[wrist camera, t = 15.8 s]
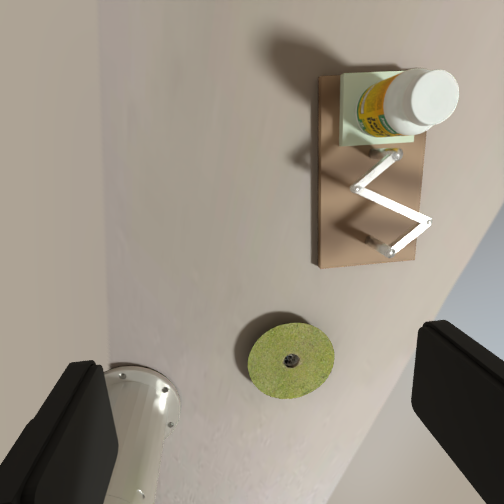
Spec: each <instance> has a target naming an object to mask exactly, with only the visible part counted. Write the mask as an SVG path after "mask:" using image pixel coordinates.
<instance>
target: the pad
mask: <svg viewBox="0 0 504 504" xmlns="http://www.w3.org/2000/svg"><path fill="white" fill-rule="evenodd" d="M402 72H404V71H386V72H360V73H343V74H342V75H340V122H339V146H357V145H373V144H390V143H406V142H414V135H409V136H395V137H372V136H369V135H367V134H365V133H364V132H363V131H362V130H361V129H360V128H359V125H358V123H357V120H356V115H355V111H356V104H357V102H358V99H359V97H360V96H361V94H362V93H363V92H364V91H365V90H366V89H367V88H368V87H370V86H371V85H373V84H375V83H378V82H380V81H383V80H385V79H387V78H390V77H392V76H395V75H397V74H399V73H402Z"/></svg>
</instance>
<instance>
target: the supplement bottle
mask: <svg viewBox="0 0 504 504" xmlns="http://www.w3.org/2000/svg"><path fill="white" fill-rule="evenodd" d="M458 98H459V88H458V84H457V82H456V80H455V78H454V77H453V76H452V75H451V74H450V73H449V72H447V71H444V70H428V69H425V68H414V69H409V70H407V71H404V72H402V73H399V74H397V75H395V76H392V77H390V78H387V79H385V80H383V81H380V82H378V83H375V84H373V85H371V86H370V87H368V88H367V89H366V90H365V91H364V92H363V93H362V94H361V96H360V97H359V99H358V102H357V104H356V111H355V115H356V120H357V123H358V125H359V128H360V129H361V130H362V131H363V132H364V133H365V134H367V135H369V136H372V137H395V136H409V135H417V134H420V133H423V132H425V131H427V130H428V129H430V128H431V127H432V126H433V125H436V124H439V123H441V122H443V121H445V120H446V119H447V118H448V117H449V116H450V115H451V114H452V113H453V111H454V110H455V108H456V105H457V102H458Z"/></svg>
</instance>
